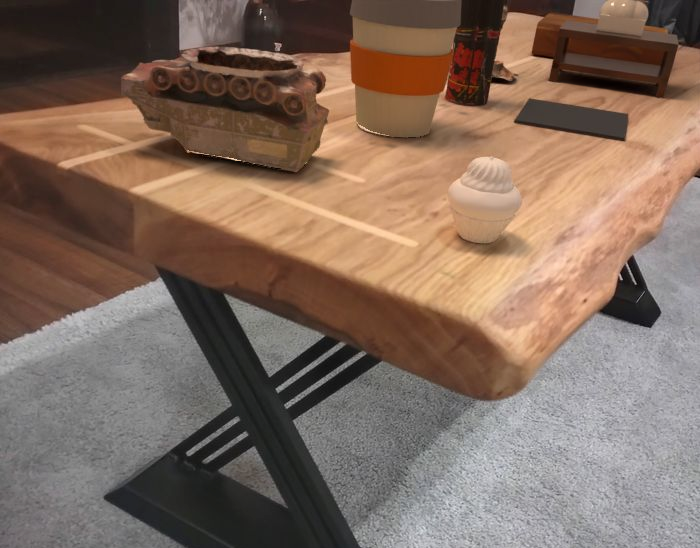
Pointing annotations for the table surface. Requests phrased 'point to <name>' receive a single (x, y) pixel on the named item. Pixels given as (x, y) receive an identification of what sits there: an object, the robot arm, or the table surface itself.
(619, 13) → the cream arch-topped block
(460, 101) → the deodorant
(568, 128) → the mat
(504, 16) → the plant with pod
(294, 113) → the toy armored vehicle
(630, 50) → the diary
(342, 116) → the table surface
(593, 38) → the rack
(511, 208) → the muffin
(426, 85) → the reusable coffee cup
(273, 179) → the table surface
